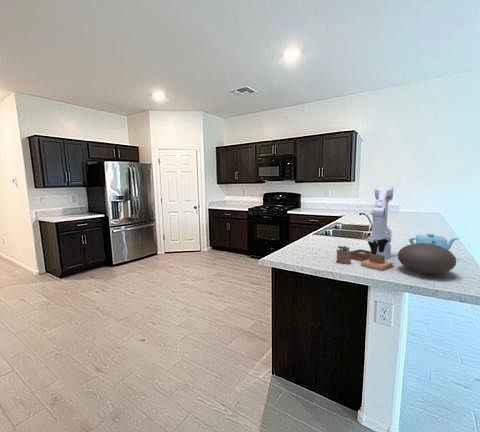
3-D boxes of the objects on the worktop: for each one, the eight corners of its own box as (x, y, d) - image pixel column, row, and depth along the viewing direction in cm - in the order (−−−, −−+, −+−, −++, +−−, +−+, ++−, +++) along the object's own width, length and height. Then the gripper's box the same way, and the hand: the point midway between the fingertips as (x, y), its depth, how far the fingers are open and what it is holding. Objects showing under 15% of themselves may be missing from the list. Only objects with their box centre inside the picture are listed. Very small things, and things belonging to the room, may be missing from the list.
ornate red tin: (351, 263, 154) (351, 246, 153) (350, 264, 152) (350, 247, 150) (336, 261, 159) (337, 245, 157) (335, 262, 156) (336, 246, 155)
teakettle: (405, 255, 169) (406, 232, 168) (427, 252, 175) (428, 230, 173) (434, 263, 151) (436, 238, 150) (458, 259, 157) (459, 235, 155)
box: (359, 256, 169) (359, 249, 169) (374, 259, 161) (374, 252, 161) (350, 258, 164) (350, 251, 163) (365, 262, 155) (365, 254, 155)
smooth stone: (390, 272, 136) (391, 244, 135) (404, 262, 154) (405, 237, 152) (451, 284, 119) (453, 252, 117) (458, 271, 136) (460, 243, 135)
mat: (372, 261, 156) (372, 261, 156) (393, 266, 146) (393, 266, 146) (360, 265, 149) (360, 264, 149) (382, 271, 139) (382, 270, 139)
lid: (372, 261, 156) (372, 251, 155) (392, 265, 146) (393, 255, 146) (361, 264, 149) (361, 254, 149) (381, 270, 140) (382, 259, 139)
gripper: (378, 226, 153) (377, 249, 154) (364, 229, 145) (363, 253, 146) (390, 228, 147) (389, 252, 149) (376, 231, 139) (376, 256, 140)
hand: (377, 253), depth 147 cm, fingers open, 7 cm apart
